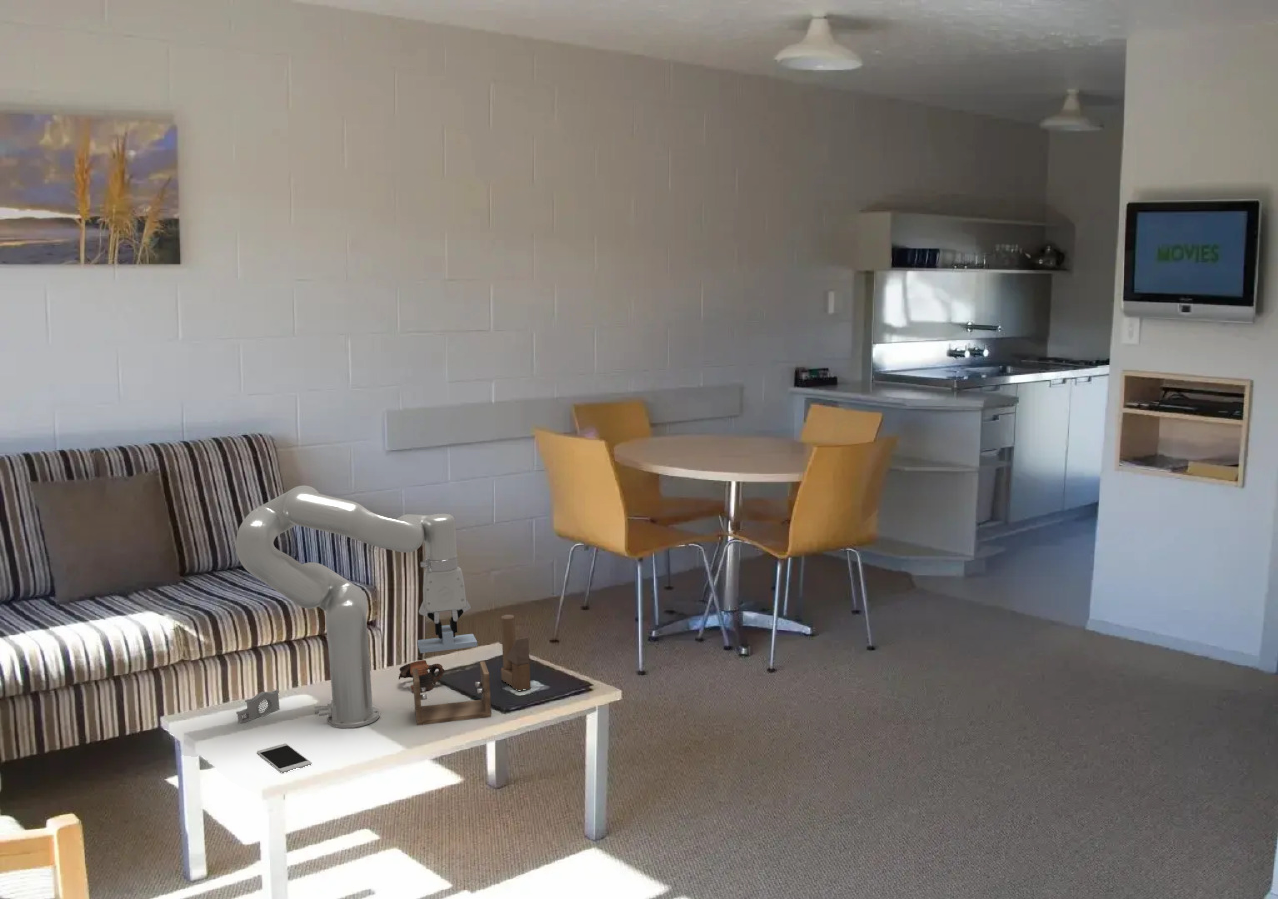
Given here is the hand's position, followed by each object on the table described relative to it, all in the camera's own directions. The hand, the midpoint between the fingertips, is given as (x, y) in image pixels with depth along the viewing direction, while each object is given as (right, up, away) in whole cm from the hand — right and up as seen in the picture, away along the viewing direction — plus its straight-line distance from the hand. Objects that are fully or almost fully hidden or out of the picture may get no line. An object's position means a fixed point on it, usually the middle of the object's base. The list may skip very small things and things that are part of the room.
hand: (446, 636), depth 302 cm
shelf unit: (+1, -19, 0) cm, 19 cm away
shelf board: (0, -3, 0) cm, 2 cm away
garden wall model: (-47, -21, +3) cm, 52 cm away
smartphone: (-33, -25, -24) cm, 48 cm away
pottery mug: (-10, -17, +21) cm, 29 cm away
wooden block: (+15, -16, +20) cm, 30 cm away
